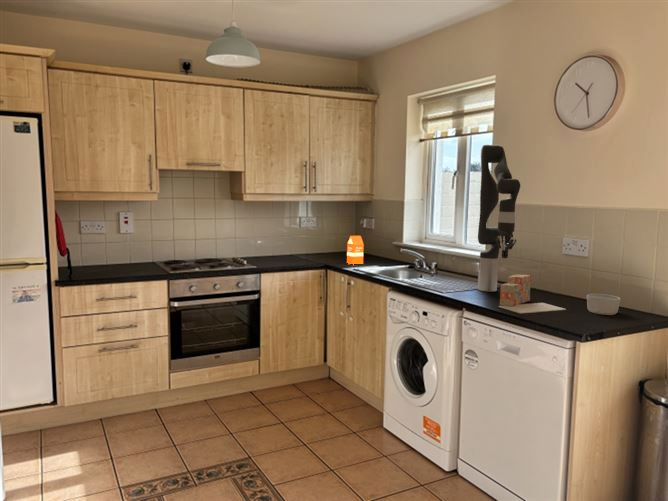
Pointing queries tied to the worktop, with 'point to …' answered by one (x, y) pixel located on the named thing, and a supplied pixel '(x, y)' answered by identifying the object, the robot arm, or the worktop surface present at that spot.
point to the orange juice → (355, 250)
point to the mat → (532, 308)
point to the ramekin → (603, 304)
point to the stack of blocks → (515, 290)
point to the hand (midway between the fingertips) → (504, 258)
